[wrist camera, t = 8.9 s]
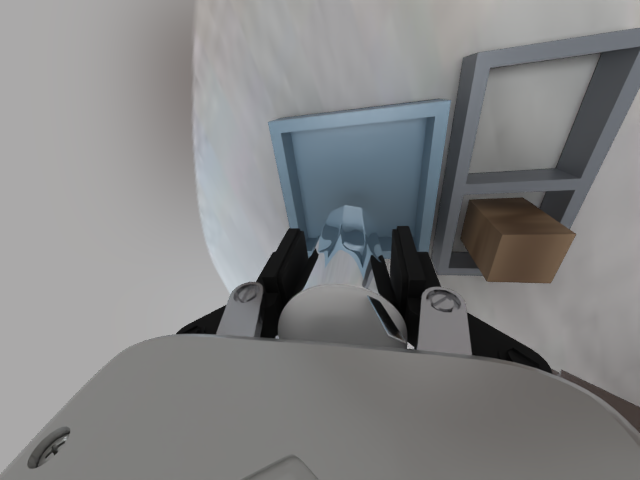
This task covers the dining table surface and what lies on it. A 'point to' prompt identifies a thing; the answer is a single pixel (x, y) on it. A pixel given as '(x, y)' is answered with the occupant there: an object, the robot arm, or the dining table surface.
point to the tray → (363, 167)
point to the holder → (580, 149)
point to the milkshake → (345, 288)
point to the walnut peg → (514, 240)
